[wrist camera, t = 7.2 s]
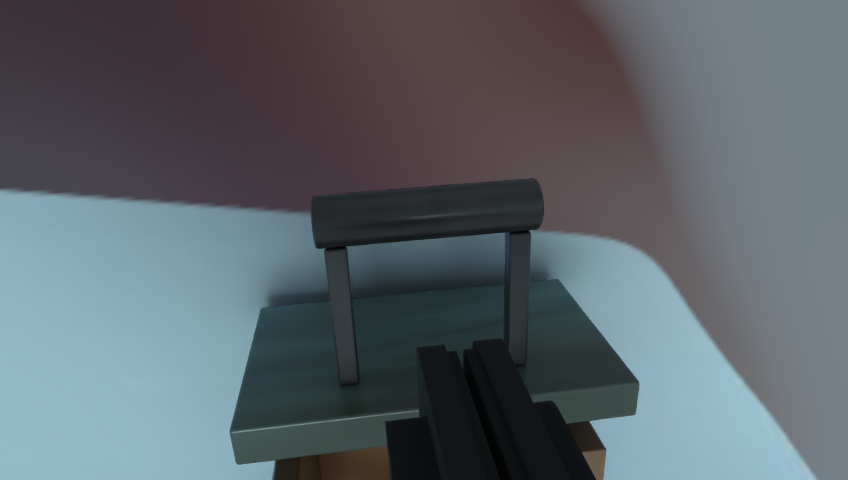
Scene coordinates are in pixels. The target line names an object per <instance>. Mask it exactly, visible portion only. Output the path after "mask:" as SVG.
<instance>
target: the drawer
mask: <svg viewBox="0 0 848 480" xmlns="http://www.w3.org/2000/svg"><path fill="white" fill-rule="evenodd" d="M543 215H544V202H543V195H542V191H541V187H540V185H539V183H538V181H537V180H536V179H533V178H530V179H517V180H504V181H492V182H479V183H467V184H454V185H442V186H428V187H415V188H402V189H389V190H378V191H365V192H351V193H338V194H325V195H313V196H312V197H311V221H312V231H313V238H314V244H315V247H316V248H317V249H323V248H324V255H325V264H326V273H327V281H328V290H329V299H330V301H327V302H317V303H306V304H296V305H286V306H276V307H266V308H261V310H260V314H259V318H258V322H257V326H256V329H255V333H254V337H253V341H252V345H251V349H250V353H249V357H248V361H247V365H246V369H245V373H244V377H243V381H242V384H241V388H240V392H239V396H238V400H237V404H236V408H235V412H234V416H233V420H232V424H231V428H230V437H231V441H232V446H233V451H234V456H235V461H236V463H237V464H238V465H241V464H249V463H257V462H265V461H273V460H275V465H274V472H273V479H272V480H390V476H389V465H388V454H387V442H386V429H385V421H392V420H400V419H408V418H416V417H419V401H418V382H417V362H416V348H417V347H425V346H433V345H442V344H444V345H445V347H446V350H447V351H456V352H457V354H458V357H459V360H460V363H461V366H462V369H463V351H464V350H465V349H472V344H473V342H474V341H478V340H486V339H495V338H502V339H503V341H504V343H505V345H506V347H507V349H508V351H509V353H510V355H511V357H512V359H513V361H514V363H515V365H516V368H517V370H518V372H519V374H520V376H521V378H522V380H523V382H524V384H525V386H526V388H527V390H528V392H529V394H530V396H531V398H532V401H533V403H534V402H542V401H550V400H551V401H553V402H554V403H555V404H556V406H557V407H558V409H559V411H560V413H561V414H562V416H563V418H564V420H565V422H566V424H567V426H568V428H569V429H570V431H571V433H572V435H573V437H574V439H575V441H576V442H577V444H578V446H579V448H580V450H581V452H582V454H583V455H584V457H585V459H586V461H587V463H588V465H589V467H590V469H591V470H592V472H593V474H594V476H595V478H596V480H603V477H604V467H605V457H606V448H605V447H604V445H603V443H602V442H601V440H600V438H599V437H598V435H597V433H596V432H595V430H594V428H593V427H592V425H591V423H590V422H589V421H591V420H599V419H607V418H615V417H623V416H631V415H635V414H636V407H637V399H638V391H639V381H638V380H637V379H636V377H635V376H634V375H633V373H632V372H631V371H630V370H629V368H628V367H627V366H626V365H625V363H624V362H623V361H622V359H621V358H620V357H619V356H618V354H617V353H616V352H615V351H614V349H613V348H612V347H611V345H610V344H609V343H608V342H607V340H606V339H605V338H604V337H603V335H602V334H601V333H600V332H599V330H598V329H597V328H596V326H595V325H594V324H593V323H592V321H591V320H590V319H589V318H588V316H587V315H586V314H585V312H584V311H583V310H582V309H581V307H580V306H579V305H578V304H577V302H576V301H575V300H574V299H573V297H572V296H571V295H570V293H569V292H568V291H567V290H566V288H565V287H564V286H563V285H562V283H561V282H560V281H559V280H558V279H552V280H542V281H532V282H529V275H530V244H531V233H530V231H529V230H537V229H539V228H540V226H541V225H542V221H543ZM493 233H505V274H504V284H501V285H491V286H480V287H470V288H460V289H450V290H440V291H429V292H419V293H409V294H399V295H388V296H378V297H368V298H358V299H352V291H351V281H350V271H349V260H348V250H347V246H357V245H368V244H379V243H391V242H402V241H414V240H425V239H436V238H448V237H459V236H470V235H482V234H493Z"/></svg>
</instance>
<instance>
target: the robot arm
mask: <svg viewBox="0 0 848 480" xmlns="http://www.w3.org/2000/svg"><path fill="white" fill-rule="evenodd" d="M416 362H417V382H418V401H419V417H416V418H408V419H400V420H392V421H385V429H386V442H387V454H388V465H389V476H390V480H596V478H595V476H594V474H593V472H592V470H591V469H590V467H589V465H588V463H587V461H586V459H585V457H584V455H583V454H582V452H581V450H580V448H579V446H578V444H577V442H576V441H575V439H574V437H573V435H572V433H571V431H570V429H569V428H568V426H567V424H566V422H565V420H564V418H563V416H562V414H561V413H560V411H559V409H558V407H557V406H556V404H555V403H554V402H553V401H551V400H550V401H542V402H534V403H533V401H532V398H531V396H530V394H529V392H528V390H527V388H526V386H525V384H524V382H523V380H522V378H521V376H520V374H519V372H518V370H517V368H516V365H515V363H514V361H513V359H512V357H511V355H510V353H509V351H508V349H507V347H506V345H505V343H504V341H503V339H502V338H495V339H486V340H478V341H474V342H473V344H472V349H465V350H464V351H463V369H462V366H461V363H460V360H459V357H458V354H457V352H456V351H447V350H446V347H445V345H444V344H442V345H433V346H425V347H417V348H416Z"/></svg>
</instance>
